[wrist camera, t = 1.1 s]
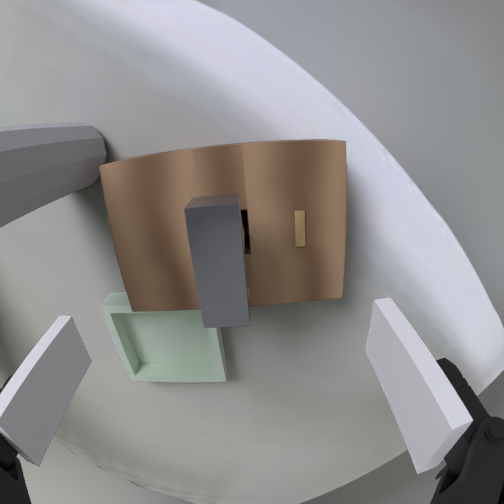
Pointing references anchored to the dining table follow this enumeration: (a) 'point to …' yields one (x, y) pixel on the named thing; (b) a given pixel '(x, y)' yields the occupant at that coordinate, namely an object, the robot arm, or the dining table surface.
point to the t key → (219, 259)
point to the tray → (165, 343)
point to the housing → (255, 219)
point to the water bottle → (45, 164)
